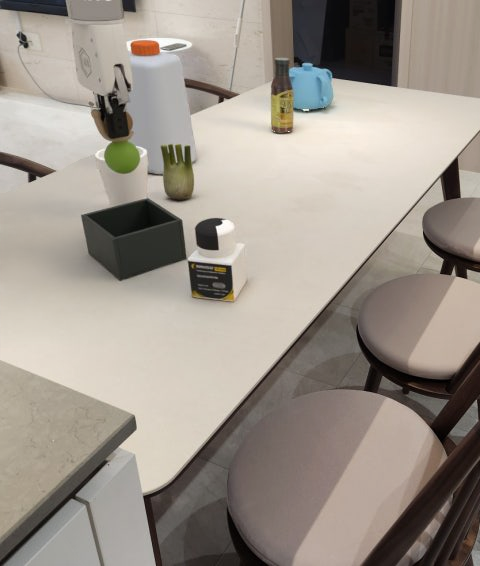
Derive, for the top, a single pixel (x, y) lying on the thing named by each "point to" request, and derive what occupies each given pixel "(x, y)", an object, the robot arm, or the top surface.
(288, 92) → the sauce bottle
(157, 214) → the bin
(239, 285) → the medicine bottle
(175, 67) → the plastic bottle
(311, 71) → the decorative pot
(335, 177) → the top surface
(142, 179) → the foam cup
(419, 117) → the top surface
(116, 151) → the snail figurine
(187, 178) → the fennel bulb
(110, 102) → the robot arm
